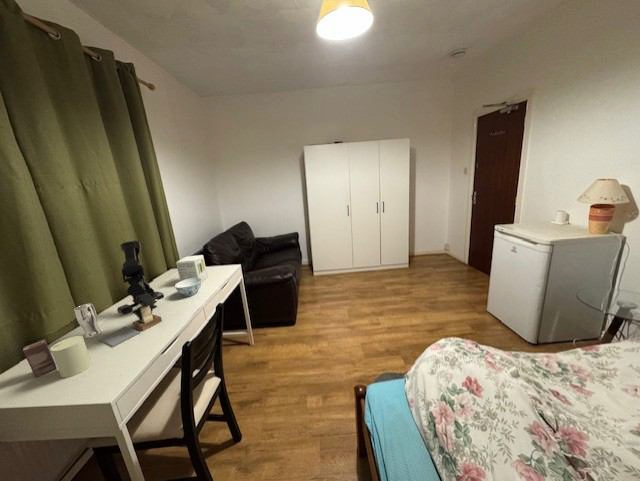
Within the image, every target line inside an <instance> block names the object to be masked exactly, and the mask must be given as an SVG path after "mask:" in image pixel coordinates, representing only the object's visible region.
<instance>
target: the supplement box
mask: <svg viewBox="0 0 640 481" xmlns="http://www.w3.org/2000/svg"><path fill="white" fill-rule="evenodd" d="M204 257H205V256H204V255H203V254H199V255H198V254H197V255H188V256H184V257H182V258H181V259H179V260H177V261H176V262H175V264H176V269H177V273H178V277H179V280H180V281H183V280H186V279H190V278H201V284H202V283H203V282H204V281H206V280H207V279H208V278H209V277H208V271H207V268H206V263H205V258H204ZM180 281H179V282H180Z"/></svg>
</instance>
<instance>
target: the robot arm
mask: <svg viewBox="0 0 640 481" xmlns="http://www.w3.org/2000/svg"><path fill="white" fill-rule="evenodd" d="M119 245H120V250H121V252H123V254H124V259H125V261H124V262H123V263H122V268H121V274H122V280H123V283H128V284H127V290H126V292H127V294H128V295H129V296H130V297H132V303H131V304H128V303H126V304H123V305H121V306H118V307H117V313H118V314H119V315H123V316H125V315H127V314H130V313H133V314H134V315H135V316H136V318H138V320H139V319H140V320H141V321H142V316H141V314H140V309H138V308H137V307H139V306H141V305H142V306H143V307H147V306H150V309H151V313H152V314H153V310H154V309H156V308H157V307H158V306H157V303H158V301H159V300H161V299H164V298H165V294H164V293H163V292H162V291H155V289H153V288H152V287H151V285H150V283H148V282H147V280H145V275H146V273H145V270H144V269H145V268H144V266H142V264H141V260H140V257H139V256H140V253H141V252H142V251H141V248H142V244H141V242H140V241H138V240H131V241H126V242H122V243H121V244H119ZM155 304H156V305H155Z"/></svg>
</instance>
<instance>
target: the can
mask: <svg viewBox="0 0 640 481" xmlns="http://www.w3.org/2000/svg"><path fill="white" fill-rule="evenodd" d="M49 349H50V352H51V354H52V356H53V359H54V361H55V363H56V367H57V369H58V371H59V375H60V378H63V379H66V378H71V377H73V376H76V375H79V374H81V373H82V372H84V371H86V370H88V368H90V367H91V366H92V365H93V360H92V359H91V356H90V353H89V351H88V348H87V346H86V343H85V340H84V337H83V335H74V336H70V337H68V338H65V339H63V340H60V341H59V342H57V343H55V344H53V345H52V346H51V347H50V348H49Z"/></svg>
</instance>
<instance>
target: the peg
mask: <svg viewBox="0 0 640 481" xmlns="http://www.w3.org/2000/svg"><path fill="white" fill-rule="evenodd" d="M137 308H138V309H140V314H141V316H142V321H141V320H140V322H141V323H142V324H145V323H147V322H149V321H151V320H153V316H152V314H153V312H152V313H151V309H150V306H147V307H143V306H142V305H139V306H137Z"/></svg>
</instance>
